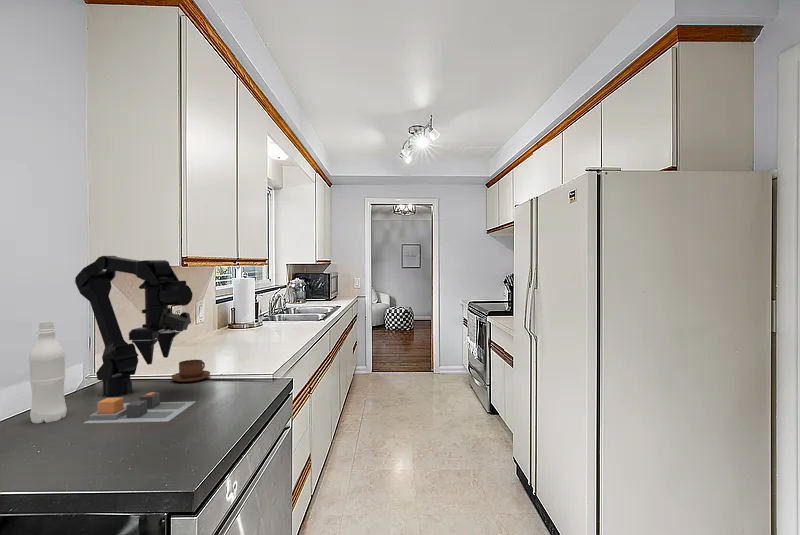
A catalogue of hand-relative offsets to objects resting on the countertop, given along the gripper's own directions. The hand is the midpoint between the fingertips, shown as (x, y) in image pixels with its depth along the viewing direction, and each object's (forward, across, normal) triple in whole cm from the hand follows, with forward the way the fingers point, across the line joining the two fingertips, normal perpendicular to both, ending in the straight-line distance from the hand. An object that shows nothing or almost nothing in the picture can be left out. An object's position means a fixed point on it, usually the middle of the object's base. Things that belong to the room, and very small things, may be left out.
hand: (157, 360), depth 133 cm
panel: (+12, -12, -2) cm, 17 cm away
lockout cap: (+10, -15, +4) cm, 19 cm away
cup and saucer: (+12, +28, +3) cm, 30 cm away
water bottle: (+12, -16, +19) cm, 28 cm away
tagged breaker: (+10, -8, -2) cm, 13 cm away
